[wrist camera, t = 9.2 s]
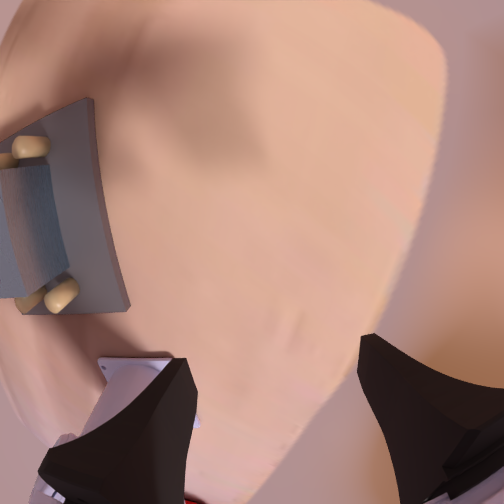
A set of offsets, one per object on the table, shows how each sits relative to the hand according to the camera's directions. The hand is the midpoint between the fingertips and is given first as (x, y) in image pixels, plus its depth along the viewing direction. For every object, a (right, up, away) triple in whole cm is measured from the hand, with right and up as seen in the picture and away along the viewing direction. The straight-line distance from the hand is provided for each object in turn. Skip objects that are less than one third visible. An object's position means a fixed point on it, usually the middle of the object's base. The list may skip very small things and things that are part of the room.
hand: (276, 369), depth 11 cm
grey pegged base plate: (-18, +7, +7) cm, 21 cm away
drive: (-18, +7, +6) cm, 20 cm away
